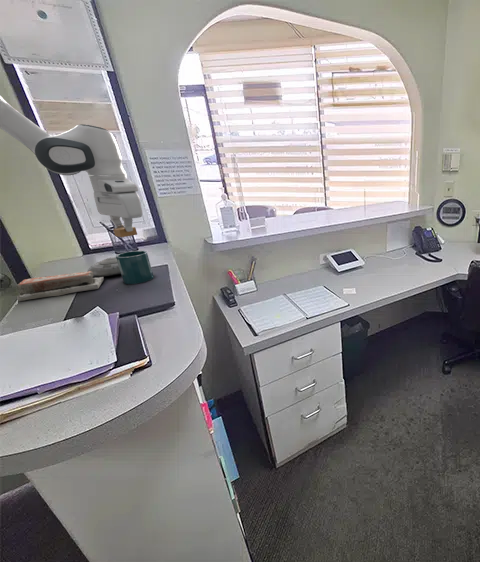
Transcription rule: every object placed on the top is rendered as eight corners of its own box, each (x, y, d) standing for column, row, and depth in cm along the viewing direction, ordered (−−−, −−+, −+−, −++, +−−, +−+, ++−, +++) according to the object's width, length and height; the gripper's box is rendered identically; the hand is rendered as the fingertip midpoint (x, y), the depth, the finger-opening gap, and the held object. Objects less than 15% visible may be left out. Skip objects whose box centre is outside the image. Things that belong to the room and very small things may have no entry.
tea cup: (131, 285, 99) (123, 258, 96) (119, 281, 103) (110, 255, 99) (158, 277, 106) (151, 252, 103) (145, 274, 109) (138, 249, 106)
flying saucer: (119, 279, 104) (114, 264, 102) (76, 279, 105) (70, 264, 103) (150, 265, 118) (146, 252, 116) (112, 265, 119) (107, 252, 117)
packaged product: (10, 286, 86) (23, 276, 93) (17, 302, 87) (30, 291, 95) (94, 274, 94) (100, 266, 102) (99, 289, 96) (104, 280, 104)
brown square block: (121, 237, 96) (119, 229, 95) (115, 236, 98) (112, 228, 97) (137, 234, 100) (135, 227, 99) (131, 233, 102) (129, 226, 101)
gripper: (82, 184, 95) (97, 229, 100) (115, 186, 86) (130, 235, 91) (106, 183, 101) (119, 226, 106) (140, 185, 91) (152, 231, 96)
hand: (124, 230), depth 98 cm, fingers closed on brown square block, 4 cm apart
